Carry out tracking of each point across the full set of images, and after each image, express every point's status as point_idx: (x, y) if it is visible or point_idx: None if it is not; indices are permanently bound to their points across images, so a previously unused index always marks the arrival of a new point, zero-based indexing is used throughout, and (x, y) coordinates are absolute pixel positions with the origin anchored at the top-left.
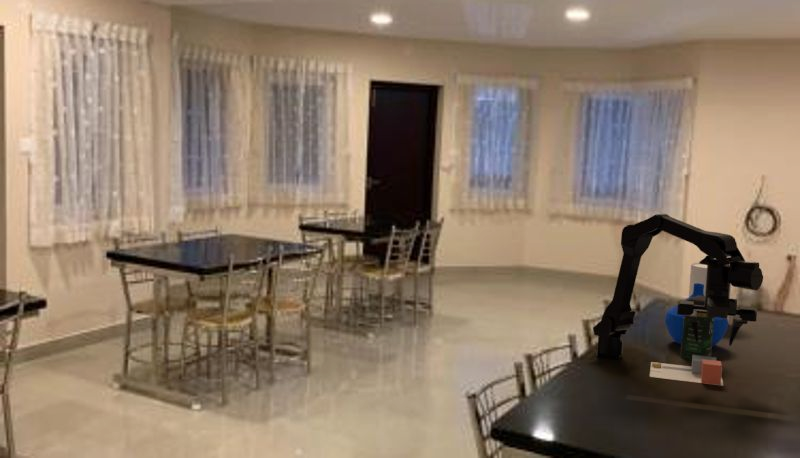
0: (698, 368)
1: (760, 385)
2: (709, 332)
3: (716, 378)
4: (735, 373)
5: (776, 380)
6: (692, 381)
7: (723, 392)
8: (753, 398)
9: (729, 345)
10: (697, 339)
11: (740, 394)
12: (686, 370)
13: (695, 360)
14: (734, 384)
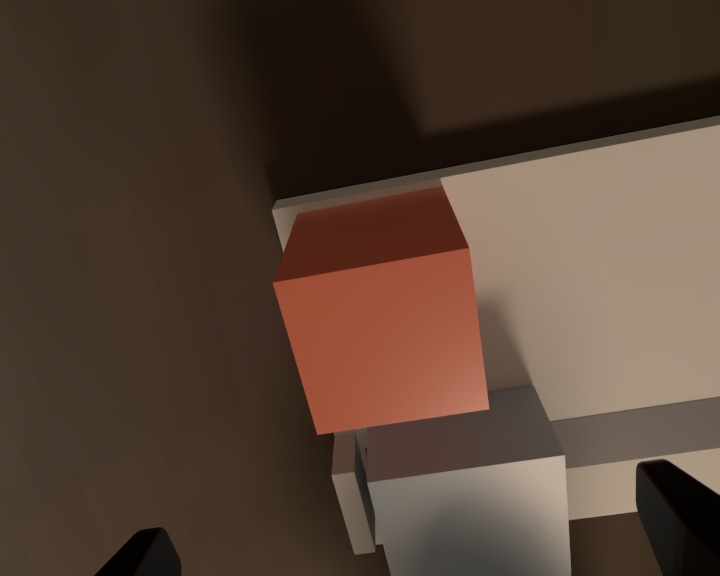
0: (498, 418)
1: (100, 432)
2: None
3: (325, 223)
4: (288, 568)
5: (65, 561)
6: (515, 174)
7: (256, 118)
8: (22, 97)
9: (165, 530)
10: (669, 486)
11: (135, 147)
12: (573, 429)
13: (542, 461)
14: (239, 366)
